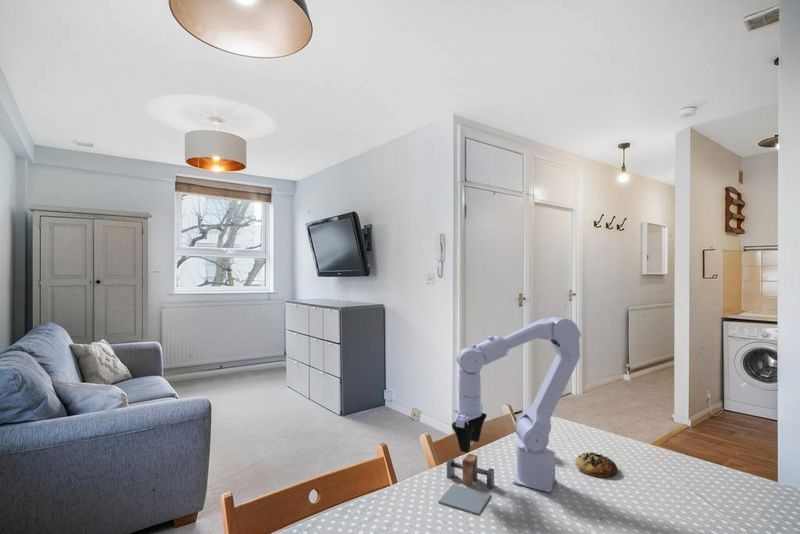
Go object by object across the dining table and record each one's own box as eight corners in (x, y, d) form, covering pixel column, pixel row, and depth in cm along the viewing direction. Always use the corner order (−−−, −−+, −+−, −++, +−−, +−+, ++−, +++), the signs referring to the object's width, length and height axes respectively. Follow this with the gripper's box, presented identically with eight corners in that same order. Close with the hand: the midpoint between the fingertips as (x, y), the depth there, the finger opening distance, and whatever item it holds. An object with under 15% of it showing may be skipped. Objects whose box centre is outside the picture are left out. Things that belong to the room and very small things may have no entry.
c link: (477, 478, 109) (477, 455, 109) (471, 486, 105) (471, 462, 105) (468, 476, 110) (468, 453, 110) (462, 483, 106) (462, 460, 106)
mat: (490, 496, 100) (490, 494, 100) (478, 515, 92) (478, 513, 92) (453, 485, 105) (453, 484, 105) (438, 502, 97) (438, 501, 97)
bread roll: (627, 475, 110) (624, 456, 110) (593, 486, 107) (590, 467, 108) (598, 458, 121) (596, 442, 121) (566, 468, 118) (563, 451, 118)
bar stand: (494, 484, 105) (494, 469, 106) (491, 489, 103) (491, 473, 103) (450, 473, 112) (450, 458, 112) (447, 477, 109) (446, 462, 110)
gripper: (465, 385, 116) (465, 433, 116) (444, 399, 104) (444, 453, 103) (489, 389, 113) (489, 438, 112) (471, 403, 100) (471, 459, 100)
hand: (469, 446), depth 108 cm, fingers open, 7 cm apart
